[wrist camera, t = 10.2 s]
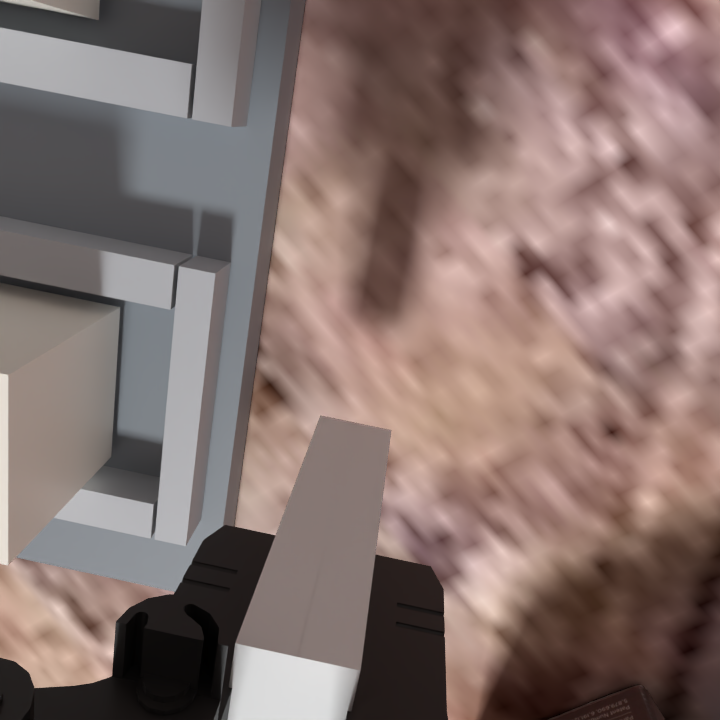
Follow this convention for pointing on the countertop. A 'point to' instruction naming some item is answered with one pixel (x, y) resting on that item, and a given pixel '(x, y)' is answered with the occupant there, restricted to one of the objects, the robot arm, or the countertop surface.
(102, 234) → the grey compartment tray
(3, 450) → the tab
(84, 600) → the countertop surface
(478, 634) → the countertop surface
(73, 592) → the countertop surface
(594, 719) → the box
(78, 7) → the tab
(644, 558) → the countertop surface
